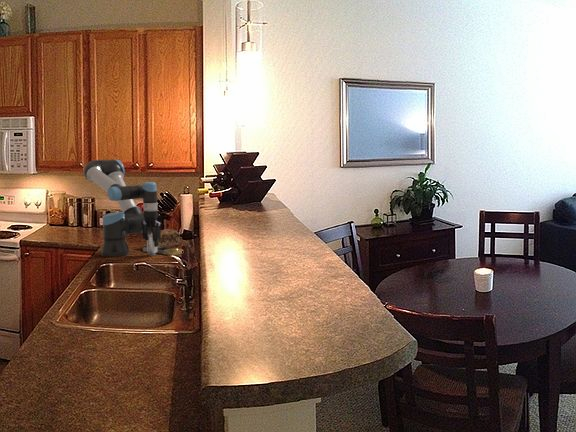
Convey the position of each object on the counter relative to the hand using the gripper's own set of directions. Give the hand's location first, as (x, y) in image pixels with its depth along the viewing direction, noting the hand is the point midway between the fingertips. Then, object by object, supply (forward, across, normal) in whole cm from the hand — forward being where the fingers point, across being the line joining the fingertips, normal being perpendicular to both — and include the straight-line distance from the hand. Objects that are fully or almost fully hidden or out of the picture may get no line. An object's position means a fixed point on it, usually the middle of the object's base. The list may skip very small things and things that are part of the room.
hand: (152, 251), depth 303 cm
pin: (+2, 0, 0) cm, 2 cm away
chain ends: (+2, -1, +9) cm, 9 cm away
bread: (+2, -15, +23) cm, 27 cm away
